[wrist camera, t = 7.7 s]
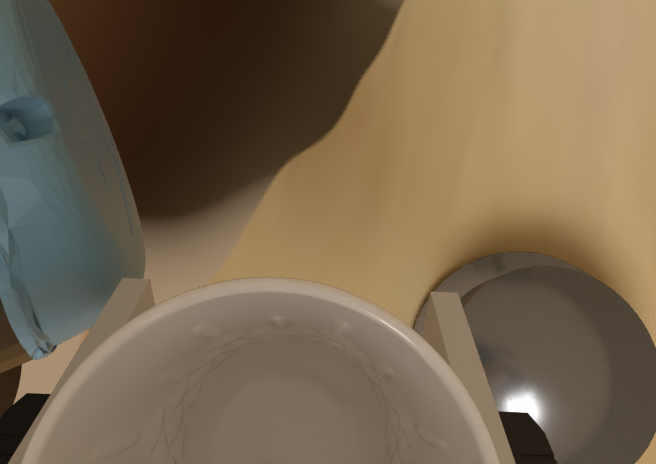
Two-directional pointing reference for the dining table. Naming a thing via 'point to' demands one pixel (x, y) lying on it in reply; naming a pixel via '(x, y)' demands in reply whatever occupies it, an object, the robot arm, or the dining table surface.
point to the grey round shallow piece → (561, 354)
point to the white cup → (263, 386)
